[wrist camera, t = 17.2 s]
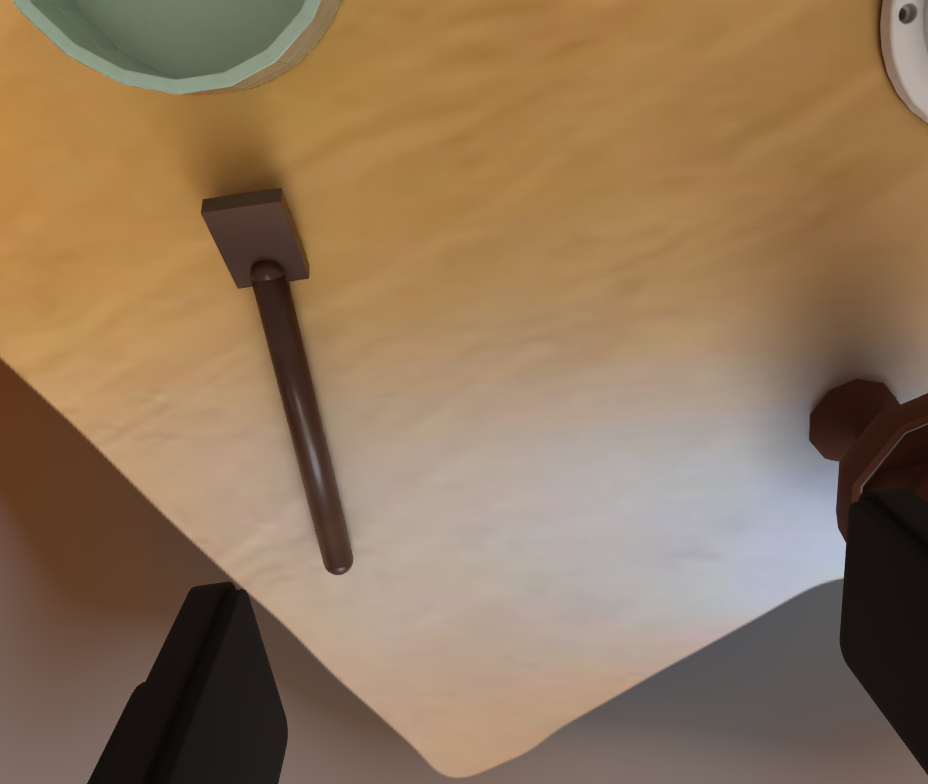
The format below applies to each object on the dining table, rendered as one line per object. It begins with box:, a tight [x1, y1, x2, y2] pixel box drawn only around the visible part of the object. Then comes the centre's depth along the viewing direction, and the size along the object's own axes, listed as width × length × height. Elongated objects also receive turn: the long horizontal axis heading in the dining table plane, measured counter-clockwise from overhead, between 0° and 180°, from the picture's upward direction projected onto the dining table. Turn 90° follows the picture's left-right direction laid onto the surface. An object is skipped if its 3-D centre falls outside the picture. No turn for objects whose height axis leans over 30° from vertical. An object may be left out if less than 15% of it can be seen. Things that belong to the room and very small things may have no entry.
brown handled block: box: [201, 188, 353, 575], centre depth 40 cm, size 21×4×11 cm
